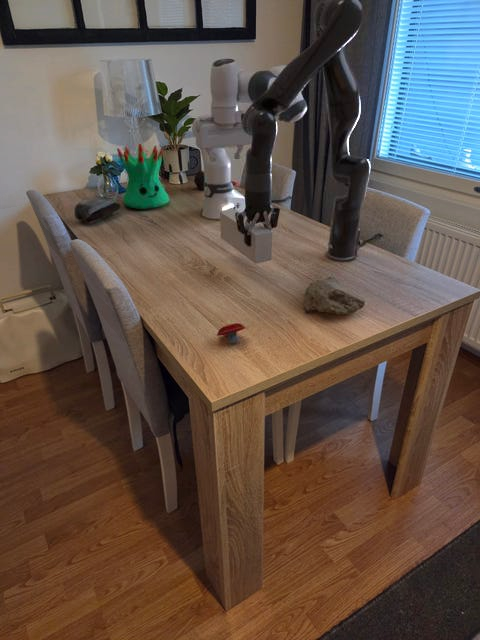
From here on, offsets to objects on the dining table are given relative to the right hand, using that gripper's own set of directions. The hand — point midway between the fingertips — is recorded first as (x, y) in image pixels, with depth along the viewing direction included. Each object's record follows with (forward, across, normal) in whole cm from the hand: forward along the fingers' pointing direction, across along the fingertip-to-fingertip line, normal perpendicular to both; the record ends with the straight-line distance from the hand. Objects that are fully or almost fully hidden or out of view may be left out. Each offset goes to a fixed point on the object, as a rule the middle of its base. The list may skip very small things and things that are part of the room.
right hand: (257, 243), depth 133 cm
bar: (+5, 0, +8) cm, 9 cm away
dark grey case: (+12, -31, +79) cm, 86 cm away
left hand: (-17, +7, +35) cm, 39 cm away
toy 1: (+12, -7, +90) cm, 91 cm away
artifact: (+12, +10, -24) cm, 28 cm away
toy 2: (+12, +29, +100) cm, 104 cm away
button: (+11, -23, -27) cm, 37 cm away
